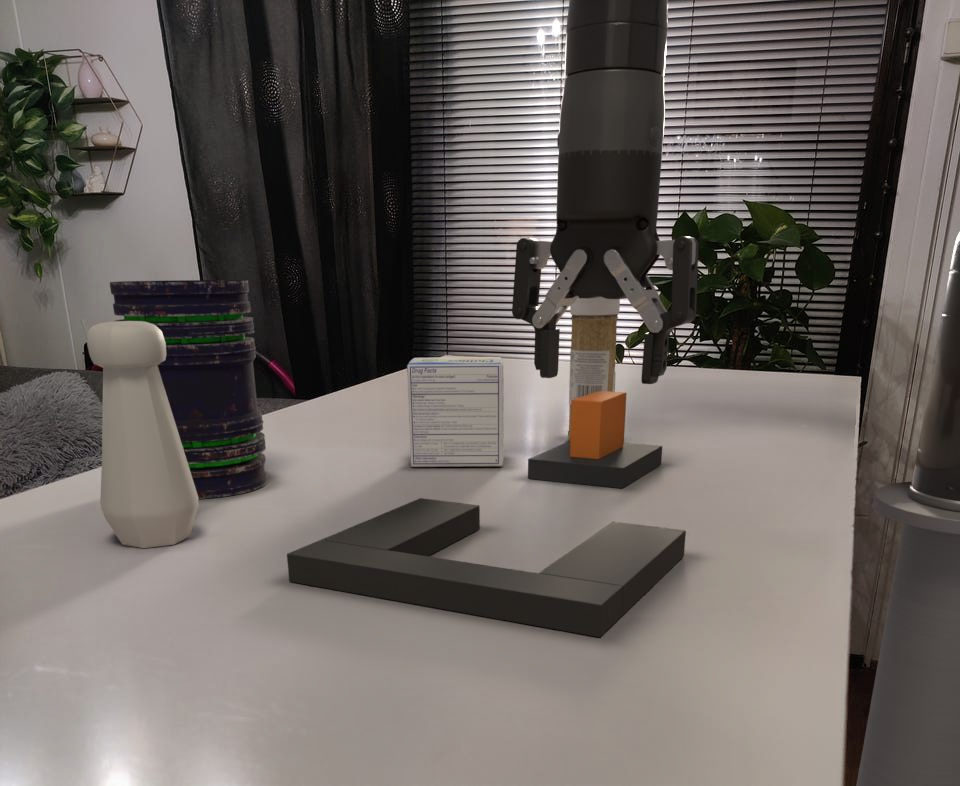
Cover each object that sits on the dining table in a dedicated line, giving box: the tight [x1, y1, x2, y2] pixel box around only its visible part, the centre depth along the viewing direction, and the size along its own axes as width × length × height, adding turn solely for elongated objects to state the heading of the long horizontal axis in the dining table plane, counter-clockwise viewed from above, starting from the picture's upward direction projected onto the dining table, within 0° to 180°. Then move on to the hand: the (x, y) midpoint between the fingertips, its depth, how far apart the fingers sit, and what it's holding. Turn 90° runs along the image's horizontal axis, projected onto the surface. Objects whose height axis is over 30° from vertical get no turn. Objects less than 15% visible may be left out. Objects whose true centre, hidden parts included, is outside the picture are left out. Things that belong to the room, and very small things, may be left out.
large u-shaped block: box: [286, 497, 687, 638], centre depth 51 cm, size 14×18×2 cm
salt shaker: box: [86, 320, 199, 549], centre depth 55 cm, size 6×6×13 cm
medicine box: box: [406, 356, 505, 468], centre depth 77 cm, size 8×4×9 cm, turn 88°
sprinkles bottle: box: [567, 297, 621, 439], centre depth 86 cm, size 5×5×13 cm
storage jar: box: [109, 279, 268, 500], centre depth 69 cm, size 10×10×15 cm
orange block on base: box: [527, 391, 663, 489], centre depth 74 cm, size 10×8×6 cm
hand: (597, 380), depth 72 cm, fingers open, 8 cm apart
